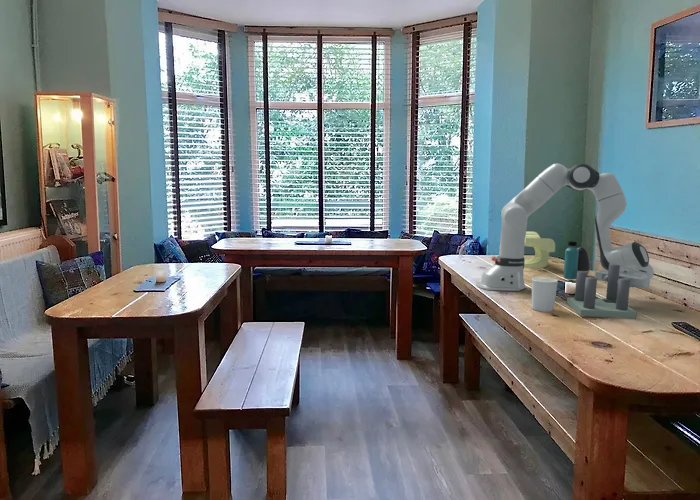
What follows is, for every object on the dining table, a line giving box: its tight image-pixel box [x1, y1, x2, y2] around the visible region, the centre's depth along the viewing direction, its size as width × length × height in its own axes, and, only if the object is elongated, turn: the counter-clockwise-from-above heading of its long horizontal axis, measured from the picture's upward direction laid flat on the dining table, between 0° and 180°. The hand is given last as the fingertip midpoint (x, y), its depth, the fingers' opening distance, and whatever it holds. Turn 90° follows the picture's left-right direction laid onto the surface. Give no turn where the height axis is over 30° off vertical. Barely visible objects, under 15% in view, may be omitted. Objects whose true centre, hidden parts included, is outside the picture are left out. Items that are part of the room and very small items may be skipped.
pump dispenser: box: [576, 246, 591, 274], centre depth 286 cm, size 10×10×15 cm
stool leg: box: [605, 264, 620, 300], centre depth 222 cm, size 4×4×14 cm
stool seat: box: [566, 271, 637, 320], centre depth 217 cm, size 20×20×14 cm
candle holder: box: [531, 276, 559, 313], centre depth 218 cm, size 10×10×12 cm
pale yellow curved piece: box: [524, 230, 556, 269], centre depth 313 cm, size 30×16×18 cm, turn 178°
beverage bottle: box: [562, 240, 579, 280], centre depth 272 cm, size 6×7×20 cm
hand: (612, 280), depth 221 cm, fingers closed on stool leg, 4 cm apart
